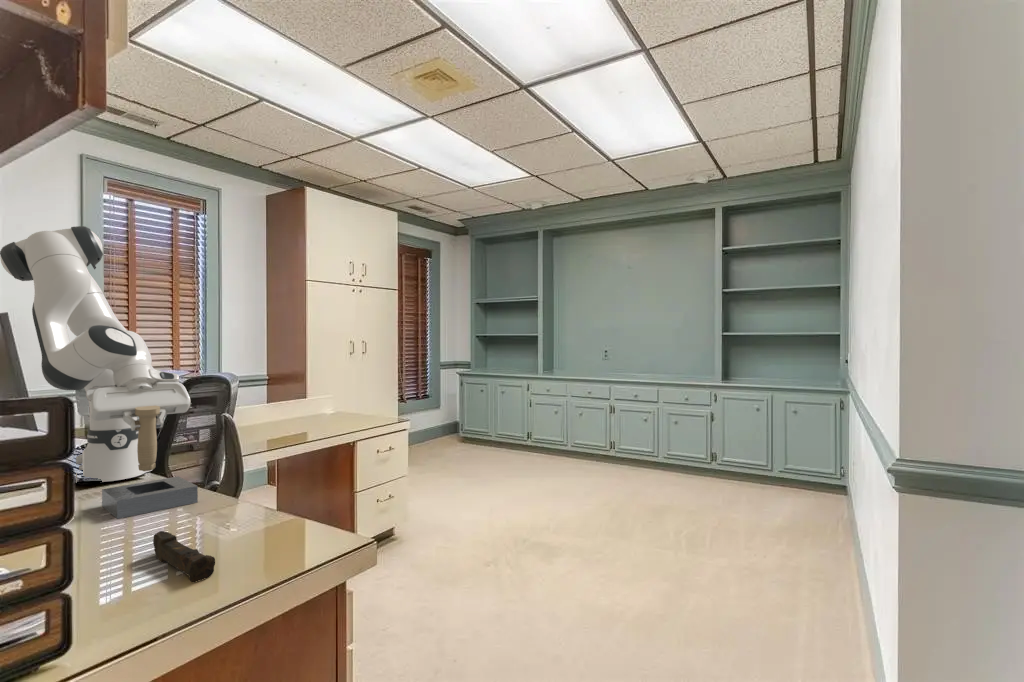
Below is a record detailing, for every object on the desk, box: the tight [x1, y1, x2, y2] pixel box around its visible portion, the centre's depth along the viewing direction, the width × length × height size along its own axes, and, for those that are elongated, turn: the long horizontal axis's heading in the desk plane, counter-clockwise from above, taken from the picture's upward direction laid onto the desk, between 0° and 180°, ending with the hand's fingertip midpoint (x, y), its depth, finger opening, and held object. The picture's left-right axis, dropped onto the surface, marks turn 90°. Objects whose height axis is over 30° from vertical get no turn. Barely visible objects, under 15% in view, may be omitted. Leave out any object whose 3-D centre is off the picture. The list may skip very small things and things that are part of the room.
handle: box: [135, 405, 160, 472], centre depth 127 cm, size 5×6×15 cm
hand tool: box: [152, 530, 216, 583], centre depth 93 cm, size 19×4×5 cm, turn 51°
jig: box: [101, 476, 199, 520], centre depth 128 cm, size 14×16×4 cm
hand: (148, 427), depth 127 cm, fingers closed on handle, 3 cm apart
